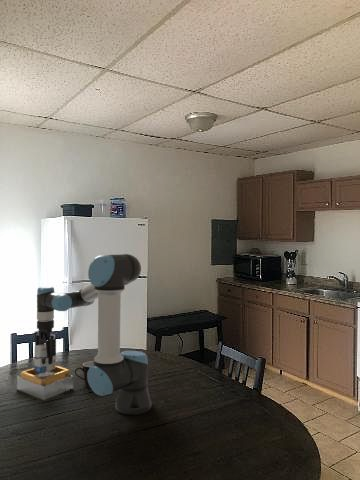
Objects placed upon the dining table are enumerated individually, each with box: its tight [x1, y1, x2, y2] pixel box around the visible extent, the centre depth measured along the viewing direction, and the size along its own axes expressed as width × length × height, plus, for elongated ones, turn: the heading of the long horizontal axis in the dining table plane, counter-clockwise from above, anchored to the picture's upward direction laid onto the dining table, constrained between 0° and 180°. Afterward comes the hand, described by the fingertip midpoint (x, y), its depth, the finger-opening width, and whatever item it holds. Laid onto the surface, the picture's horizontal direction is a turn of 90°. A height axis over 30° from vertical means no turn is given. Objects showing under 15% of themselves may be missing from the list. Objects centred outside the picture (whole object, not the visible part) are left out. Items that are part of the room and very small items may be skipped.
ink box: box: [33, 343, 57, 373], centre depth 185 cm, size 8×5×12 cm, turn 143°
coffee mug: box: [74, 360, 94, 388], centre depth 191 cm, size 12×9×10 cm
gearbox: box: [16, 365, 74, 401], centre depth 186 cm, size 24×16×8 cm, turn 55°
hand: (45, 369), depth 185 cm, fingers closed on ink box, 5 cm apart
